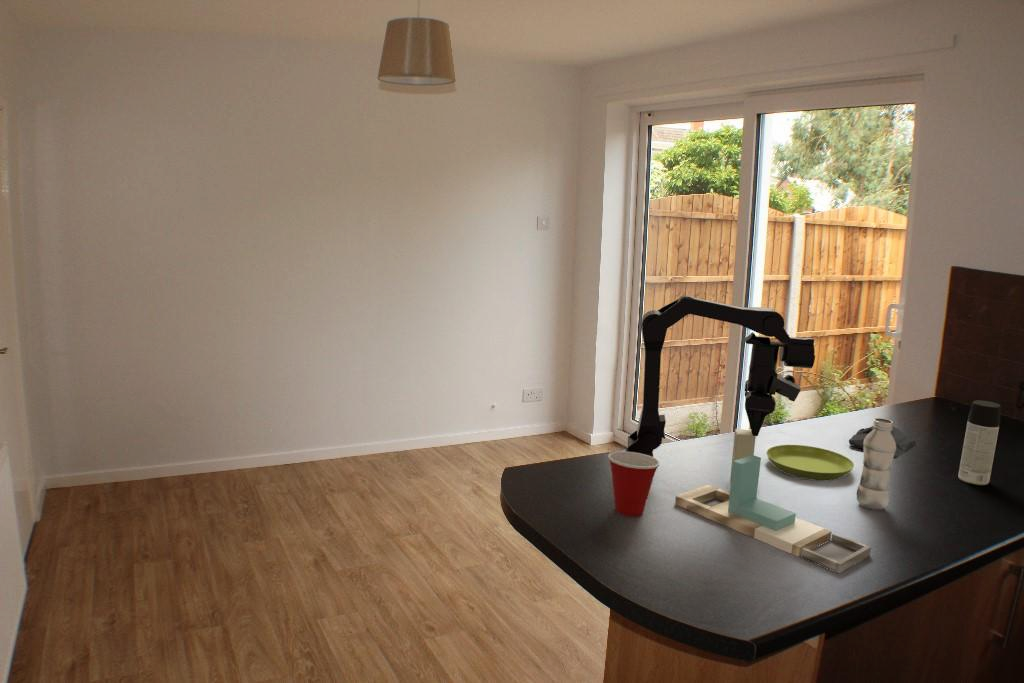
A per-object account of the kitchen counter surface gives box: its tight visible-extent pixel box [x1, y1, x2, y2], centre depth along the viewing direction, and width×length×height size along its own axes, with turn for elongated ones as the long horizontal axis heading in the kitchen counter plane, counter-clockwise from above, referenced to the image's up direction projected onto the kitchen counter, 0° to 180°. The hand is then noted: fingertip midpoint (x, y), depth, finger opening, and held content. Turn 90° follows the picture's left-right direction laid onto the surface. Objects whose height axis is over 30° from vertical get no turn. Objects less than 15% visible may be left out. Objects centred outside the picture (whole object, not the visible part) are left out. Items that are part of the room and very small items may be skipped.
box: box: [729, 428, 757, 482], centre depth 173 cm, size 5×4×13 cm
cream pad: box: [753, 517, 825, 554], centre depth 147 cm, size 8×12×2 cm, turn 129°
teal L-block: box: [728, 454, 797, 531], centre depth 150 cm, size 11×7×11 cm, turn 40°
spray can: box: [957, 399, 1002, 486], centre depth 182 cm, size 7×7×20 cm
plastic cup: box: [607, 450, 661, 518], centre depth 155 cm, size 11×11×12 cm
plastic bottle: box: [856, 417, 896, 511], centre depth 163 cm, size 6×7×20 cm
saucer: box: [765, 444, 855, 481], centre depth 187 cm, size 21×21×3 cm
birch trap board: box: [674, 484, 872, 574], centre depth 151 cm, size 37×12×2 cm, turn 40°
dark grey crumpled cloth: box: [848, 425, 917, 459], centre depth 210 cm, size 15×22×5 cm
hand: (754, 430), depth 170 cm, fingers open, 9 cm apart
